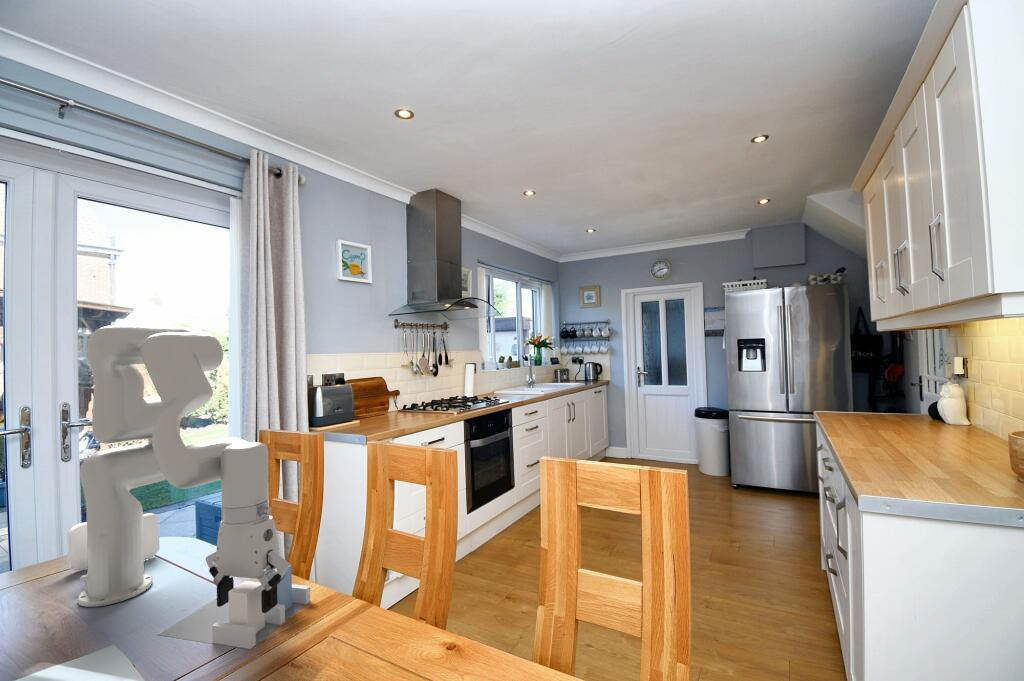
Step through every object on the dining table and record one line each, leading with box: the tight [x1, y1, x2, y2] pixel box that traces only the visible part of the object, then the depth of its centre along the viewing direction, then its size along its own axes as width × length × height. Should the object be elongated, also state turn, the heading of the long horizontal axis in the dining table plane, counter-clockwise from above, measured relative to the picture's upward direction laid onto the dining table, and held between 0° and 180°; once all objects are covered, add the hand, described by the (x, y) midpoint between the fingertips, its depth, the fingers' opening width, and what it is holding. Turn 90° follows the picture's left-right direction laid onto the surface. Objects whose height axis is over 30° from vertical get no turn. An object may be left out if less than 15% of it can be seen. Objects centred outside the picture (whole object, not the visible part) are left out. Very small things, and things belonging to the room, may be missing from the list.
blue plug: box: [264, 564, 293, 611], centre depth 94 cm, size 4×4×8 cm
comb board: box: [157, 583, 312, 651], centre depth 91 cm, size 20×16×4 cm
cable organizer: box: [67, 512, 160, 571], centre depth 119 cm, size 15×11×12 cm
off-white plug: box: [229, 580, 265, 633], centre depth 87 cm, size 4×4×8 cm
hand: (247, 605), depth 87 cm, fingers open, 9 cm apart
